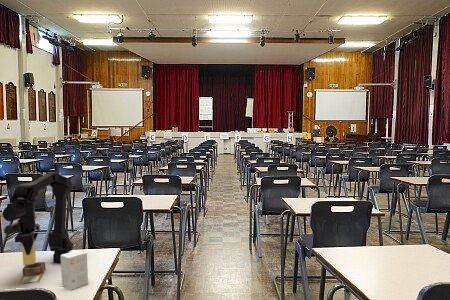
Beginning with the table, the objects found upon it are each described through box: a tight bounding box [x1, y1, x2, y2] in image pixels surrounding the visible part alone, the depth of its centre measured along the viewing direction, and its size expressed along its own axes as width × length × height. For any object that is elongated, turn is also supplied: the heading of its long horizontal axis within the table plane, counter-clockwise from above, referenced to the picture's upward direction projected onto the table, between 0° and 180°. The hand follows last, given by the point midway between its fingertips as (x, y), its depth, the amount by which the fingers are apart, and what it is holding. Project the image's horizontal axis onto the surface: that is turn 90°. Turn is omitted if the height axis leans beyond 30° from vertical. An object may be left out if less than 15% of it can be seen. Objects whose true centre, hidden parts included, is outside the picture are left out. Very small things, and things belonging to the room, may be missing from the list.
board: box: [17, 272, 45, 286], centre depth 172 cm, size 8×17×1 cm, turn 15°
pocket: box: [22, 261, 47, 277], centre depth 177 cm, size 8×8×3 cm
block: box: [21, 240, 37, 266], centre depth 167 cm, size 4×4×9 cm
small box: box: [60, 249, 89, 291], centre depth 163 cm, size 8×6×13 cm
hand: (29, 253), depth 167 cm, fingers closed on block, 4 cm apart
